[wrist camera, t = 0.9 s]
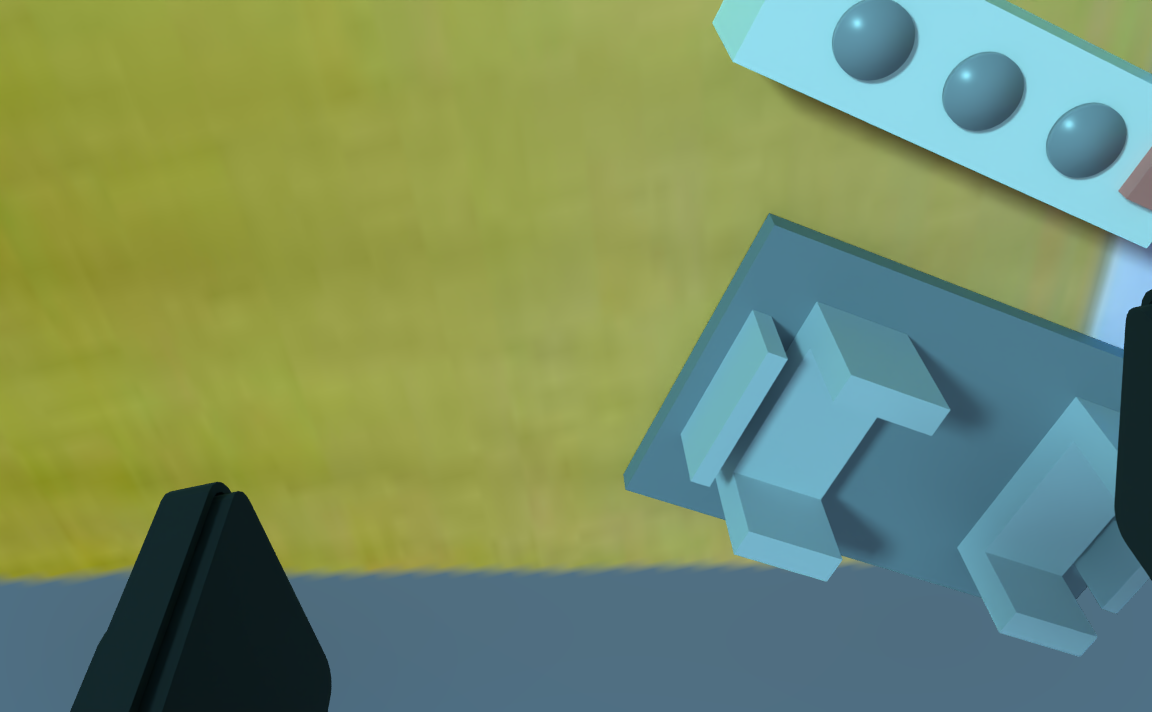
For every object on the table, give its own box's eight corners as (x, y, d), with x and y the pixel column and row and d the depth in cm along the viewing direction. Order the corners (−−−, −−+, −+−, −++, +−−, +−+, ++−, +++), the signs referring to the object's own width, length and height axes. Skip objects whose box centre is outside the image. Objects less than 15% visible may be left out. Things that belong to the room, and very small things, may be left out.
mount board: (769, 213, 40) (805, 293, 35) (1233, 392, 46) (1323, 483, 41) (623, 474, 47) (636, 574, 42) (1048, 605, 52) (1105, 707, 47)
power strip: (779, -115, 35) (816, -83, 31) (1172, 83, 39) (1252, 136, 35) (711, 20, 37) (736, 67, 33) (1089, 194, 41) (1155, 256, 37)
